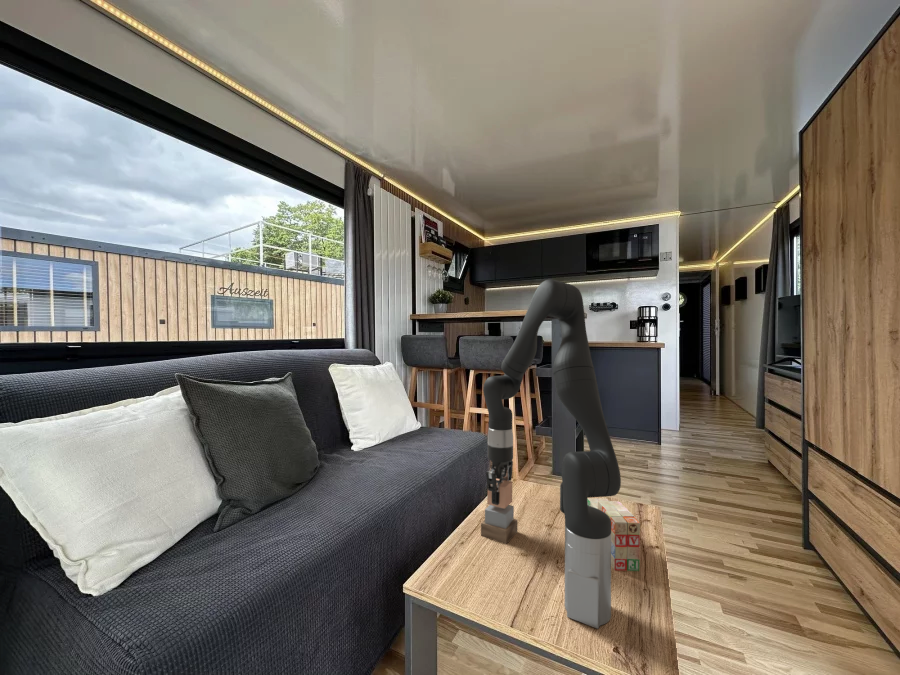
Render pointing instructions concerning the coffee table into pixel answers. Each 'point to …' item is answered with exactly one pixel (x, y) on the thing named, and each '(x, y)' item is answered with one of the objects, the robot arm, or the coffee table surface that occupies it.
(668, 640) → the coffee table surface
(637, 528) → the stack of blocks
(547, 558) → the coffee table surface
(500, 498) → the terracotta block
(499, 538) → the tower base block
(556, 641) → the coffee table surface
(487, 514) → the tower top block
